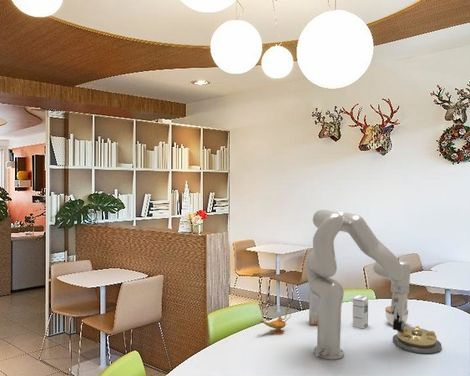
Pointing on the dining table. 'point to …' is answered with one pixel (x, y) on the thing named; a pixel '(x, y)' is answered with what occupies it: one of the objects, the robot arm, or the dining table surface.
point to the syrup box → (360, 311)
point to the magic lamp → (277, 324)
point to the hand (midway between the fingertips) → (396, 329)
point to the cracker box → (313, 308)
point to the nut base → (415, 349)
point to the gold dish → (416, 337)
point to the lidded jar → (390, 316)
